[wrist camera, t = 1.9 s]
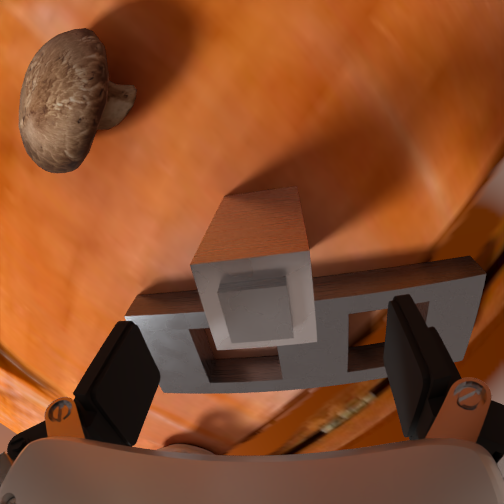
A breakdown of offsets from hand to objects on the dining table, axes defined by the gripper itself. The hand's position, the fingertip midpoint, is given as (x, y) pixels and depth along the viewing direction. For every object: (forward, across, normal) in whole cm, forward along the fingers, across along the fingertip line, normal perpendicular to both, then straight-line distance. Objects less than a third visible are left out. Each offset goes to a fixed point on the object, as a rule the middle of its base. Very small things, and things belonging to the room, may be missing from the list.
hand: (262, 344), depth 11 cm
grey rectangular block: (+9, 0, -1) cm, 9 cm away
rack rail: (+9, -2, +7) cm, 12 cm away
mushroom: (+9, +9, -11) cm, 17 cm away
